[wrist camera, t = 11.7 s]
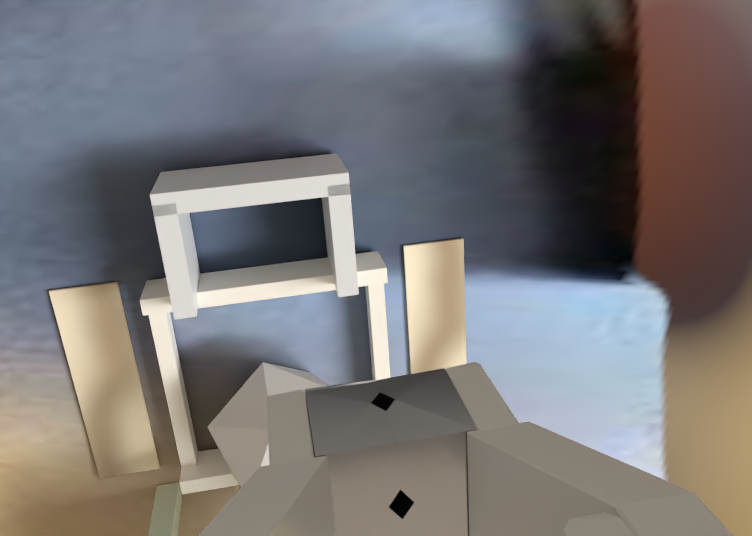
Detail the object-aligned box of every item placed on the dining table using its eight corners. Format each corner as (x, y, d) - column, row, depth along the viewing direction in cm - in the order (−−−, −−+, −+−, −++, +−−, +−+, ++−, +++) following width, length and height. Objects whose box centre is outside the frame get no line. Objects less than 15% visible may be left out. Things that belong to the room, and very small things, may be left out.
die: (239, 322, 45) (164, 448, 39) (361, 345, 43) (302, 483, 37) (267, 395, 51) (206, 514, 45) (376, 418, 49) (328, 549, 42)
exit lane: (100, 476, 47) (99, 478, 47) (49, 290, 42) (48, 291, 42) (466, 416, 51) (467, 418, 50) (462, 237, 45) (463, 238, 45)
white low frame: (185, 465, 48) (179, 515, 43) (124, 175, 40) (108, 199, 35) (390, 432, 50) (405, 476, 45) (370, 149, 42) (385, 168, 37)
